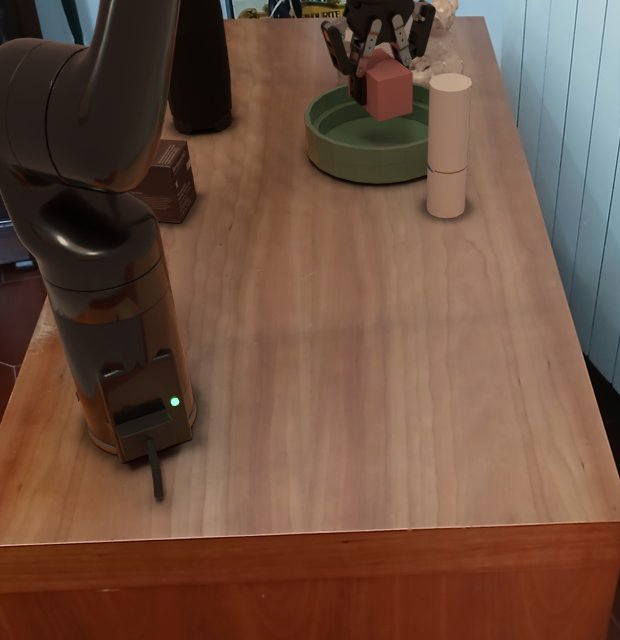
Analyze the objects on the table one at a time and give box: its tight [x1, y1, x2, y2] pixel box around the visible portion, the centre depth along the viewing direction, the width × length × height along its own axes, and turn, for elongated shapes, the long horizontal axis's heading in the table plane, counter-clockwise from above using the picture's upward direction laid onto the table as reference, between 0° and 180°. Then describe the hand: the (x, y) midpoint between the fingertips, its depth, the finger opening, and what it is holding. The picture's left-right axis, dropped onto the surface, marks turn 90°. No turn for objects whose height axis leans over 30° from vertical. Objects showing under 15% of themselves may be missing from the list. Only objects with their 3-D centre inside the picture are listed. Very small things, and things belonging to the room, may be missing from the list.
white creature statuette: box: [410, 0, 465, 87], centre depth 124 cm, size 10×9×12 cm
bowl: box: [303, 83, 430, 185], centre depth 113 cm, size 18×18×5 cm
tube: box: [426, 73, 473, 219], centre depth 99 cm, size 4×4×15 cm
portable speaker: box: [167, 0, 233, 135], centre depth 116 cm, size 9×9×20 cm
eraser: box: [348, 47, 413, 122], centre depth 109 cm, size 8×4×5 cm, turn 26°
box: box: [129, 138, 197, 224], centre depth 104 cm, size 6×6×7 cm
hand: (379, 97), depth 110 cm, fingers closed on eraser, 4 cm apart
